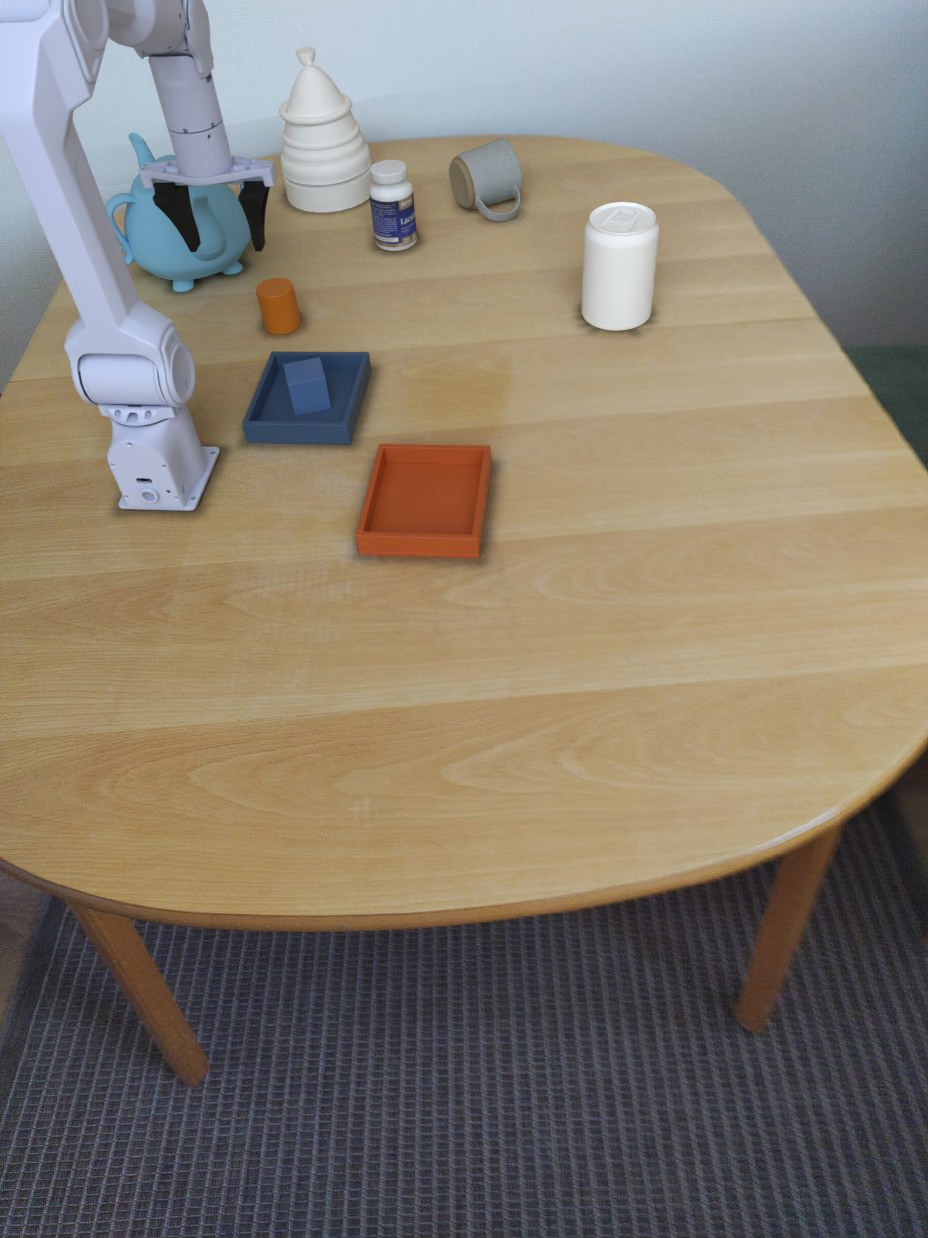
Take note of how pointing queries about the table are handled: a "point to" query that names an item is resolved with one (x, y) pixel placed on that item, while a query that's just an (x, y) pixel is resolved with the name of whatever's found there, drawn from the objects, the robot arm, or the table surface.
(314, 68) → the honey pot
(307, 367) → the blue block
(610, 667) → the table surface
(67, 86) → the robot arm
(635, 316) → the beverage can
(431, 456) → the orange tray
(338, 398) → the blue tray
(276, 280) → the amber cylinder
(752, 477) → the table surface
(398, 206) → the pill bottle
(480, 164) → the ceramic mug
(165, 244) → the teapot
